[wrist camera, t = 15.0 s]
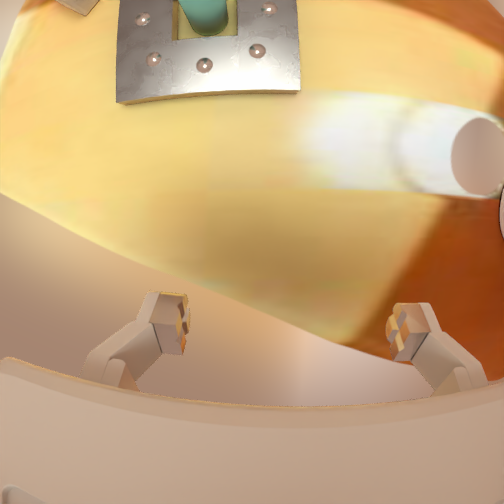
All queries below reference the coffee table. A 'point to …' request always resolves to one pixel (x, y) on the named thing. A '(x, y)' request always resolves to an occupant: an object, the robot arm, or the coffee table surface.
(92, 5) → the product box
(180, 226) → the coffee table surface
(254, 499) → the robot arm
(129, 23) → the rosette socket
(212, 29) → the teal cylinder
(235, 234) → the coffee table surface
